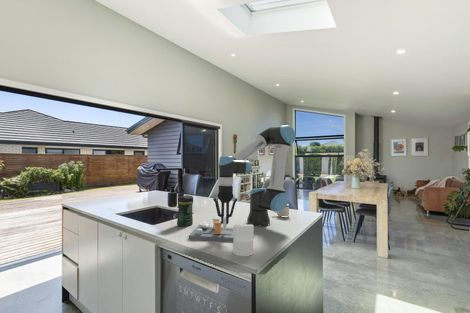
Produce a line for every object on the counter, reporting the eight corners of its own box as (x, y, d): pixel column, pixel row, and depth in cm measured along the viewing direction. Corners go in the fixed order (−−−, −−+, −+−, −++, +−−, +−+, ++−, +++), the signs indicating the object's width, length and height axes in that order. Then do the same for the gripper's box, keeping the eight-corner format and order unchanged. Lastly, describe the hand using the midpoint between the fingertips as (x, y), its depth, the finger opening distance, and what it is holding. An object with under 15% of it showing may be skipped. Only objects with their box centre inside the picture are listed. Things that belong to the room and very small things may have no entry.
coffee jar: (184, 227, 143) (185, 197, 144) (174, 225, 147) (175, 195, 148) (194, 224, 152) (195, 195, 152) (185, 222, 156) (186, 194, 156)
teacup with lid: (289, 215, 182) (289, 200, 182) (288, 218, 173) (289, 202, 174) (273, 214, 185) (273, 199, 186) (272, 217, 177) (272, 201, 177)
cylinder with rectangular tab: (234, 256, 102) (235, 228, 102) (231, 248, 111) (232, 223, 111) (255, 255, 103) (255, 227, 104) (250, 248, 112) (250, 222, 112)
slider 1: (219, 227, 137) (219, 217, 137) (218, 229, 133) (218, 218, 133) (213, 227, 137) (214, 217, 137) (212, 229, 134) (212, 218, 134)
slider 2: (221, 232, 127) (221, 221, 127) (220, 234, 124) (220, 223, 124) (215, 232, 128) (215, 221, 128) (214, 234, 124) (214, 222, 124)
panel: (237, 231, 138) (238, 223, 138) (234, 241, 120) (235, 233, 120) (197, 229, 141) (197, 222, 141) (188, 239, 123) (188, 230, 123)
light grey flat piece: (209, 225, 140) (210, 223, 140) (207, 228, 133) (207, 226, 133) (201, 223, 140) (201, 221, 140) (198, 226, 133) (198, 224, 133)
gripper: (238, 184, 129) (237, 228, 129) (214, 184, 130) (213, 227, 130) (237, 186, 122) (236, 232, 121) (212, 185, 123) (211, 231, 122)
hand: (224, 229), depth 125 cm, fingers closed
